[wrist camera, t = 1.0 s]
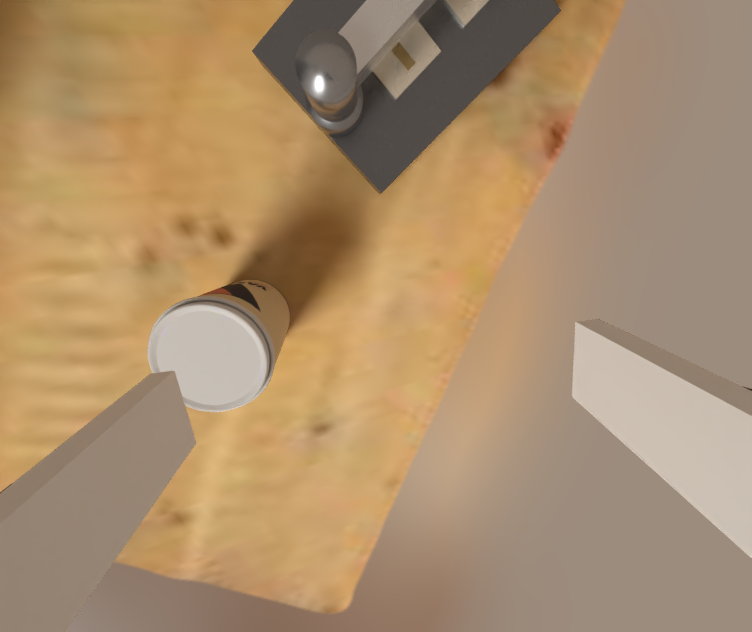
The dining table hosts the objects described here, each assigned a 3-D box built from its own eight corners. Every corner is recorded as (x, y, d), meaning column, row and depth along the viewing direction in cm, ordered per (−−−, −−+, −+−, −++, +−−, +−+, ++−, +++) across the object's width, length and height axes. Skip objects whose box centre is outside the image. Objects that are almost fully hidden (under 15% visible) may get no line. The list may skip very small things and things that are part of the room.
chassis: (260, 66, 32) (238, 36, 26) (431, -137, 29) (448, -224, 23) (378, 195, 36) (381, 193, 30) (543, 28, 32) (583, -12, 26)
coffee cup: (283, 261, 37) (248, 286, 26) (308, 345, 40) (287, 401, 28) (195, 282, 37) (121, 316, 26) (226, 364, 40) (171, 427, 28)
